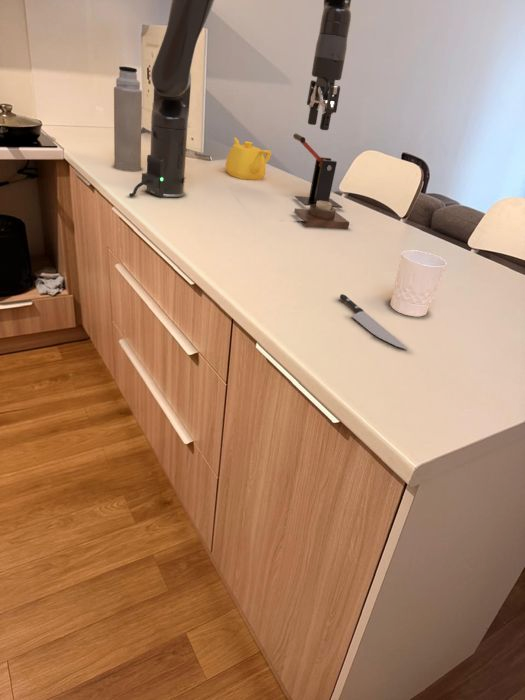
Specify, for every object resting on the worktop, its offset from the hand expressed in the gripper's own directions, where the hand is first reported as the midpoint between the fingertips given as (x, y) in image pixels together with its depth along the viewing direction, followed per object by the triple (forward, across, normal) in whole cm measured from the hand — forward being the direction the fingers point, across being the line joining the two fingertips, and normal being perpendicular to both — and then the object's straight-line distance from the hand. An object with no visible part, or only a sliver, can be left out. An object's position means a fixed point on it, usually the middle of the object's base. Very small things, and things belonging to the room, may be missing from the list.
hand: (317, 127), depth 134 cm
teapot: (+22, -39, -6) cm, 46 cm away
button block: (+22, +11, +1) cm, 25 cm away
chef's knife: (+22, +68, -15) cm, 73 cm away
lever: (+8, -6, +2) cm, 11 cm away
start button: (+19, +11, +1) cm, 22 cm away
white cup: (+22, +62, -3) cm, 66 cm away
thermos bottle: (+22, -36, -46) cm, 63 cm away
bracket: (+22, -6, +7) cm, 24 cm away
